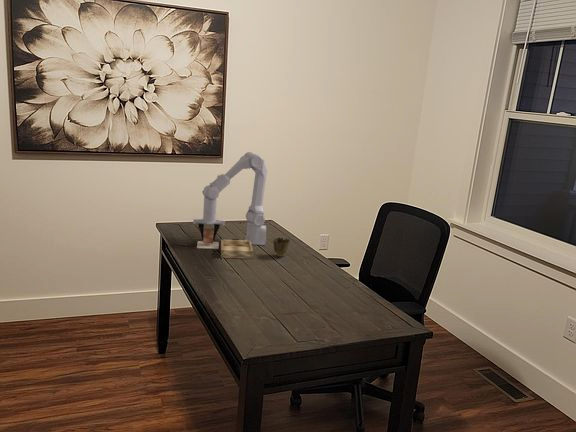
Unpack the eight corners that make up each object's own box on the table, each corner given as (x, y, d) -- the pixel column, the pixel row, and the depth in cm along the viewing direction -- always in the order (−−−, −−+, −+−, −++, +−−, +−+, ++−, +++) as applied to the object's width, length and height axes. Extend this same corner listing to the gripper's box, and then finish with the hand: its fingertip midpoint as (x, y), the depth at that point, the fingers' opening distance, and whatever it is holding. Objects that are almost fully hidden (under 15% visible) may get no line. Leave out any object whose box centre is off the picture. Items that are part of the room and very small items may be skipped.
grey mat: (218, 242, 254) (218, 242, 254) (218, 249, 244) (218, 248, 244) (197, 241, 252) (197, 241, 252) (196, 248, 243) (196, 247, 243)
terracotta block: (213, 240, 250) (213, 228, 249) (212, 243, 246) (213, 231, 245) (203, 240, 250) (204, 228, 248) (203, 243, 245) (203, 230, 244)
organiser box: (250, 247, 250) (250, 240, 249) (252, 258, 235) (253, 251, 234) (220, 246, 248) (221, 239, 247) (220, 257, 233) (221, 249, 232)
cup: (269, 256, 240) (270, 240, 238) (275, 252, 246) (277, 236, 244) (284, 259, 237) (286, 242, 235) (290, 255, 244) (292, 239, 242)
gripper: (193, 212, 240) (192, 241, 243) (225, 214, 242) (223, 242, 245) (194, 209, 246) (192, 237, 250) (225, 210, 248) (223, 238, 252)
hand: (208, 239), depth 248 cm, fingers closed on terracotta block, 4 cm apart
